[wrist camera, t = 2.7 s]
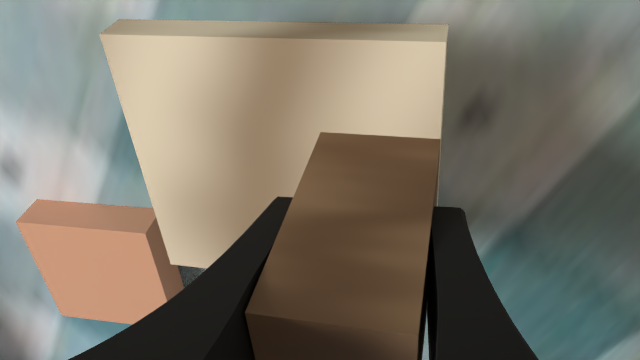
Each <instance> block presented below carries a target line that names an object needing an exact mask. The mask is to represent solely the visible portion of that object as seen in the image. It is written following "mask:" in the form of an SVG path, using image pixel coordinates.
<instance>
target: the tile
mask: <svg viewBox="0 0 640 360" xmlns="http://www.w3.org/2000/svg"><path fill="white" fill-rule="evenodd" d="M16 223H17V225H18V228H19V230H20V232H21V234H22V236H23V238H24V240H25V242H26V244H27V246H28V248H29V250H30V252H31V254H32V256H33V258H34V260H35V262H36V264H37V266H38V268H39V270H40V272H41V274H42V276H43V278H44V280H45V283H46V285H47V287H48V289H49V291H50V293H51V295H52V297H53V299H54V301H55V303H56V305H57V307H58V309H59V311H60V313H61V315H62V316H69V317H77V318H85V319H93V320H102V321H110V322H118V323H126V324H134V323H136V322H137V321H139V320H140V319H142V318H143V317H145V316H146V315H148V314H150V313H151V312H153V311H154V310H156V309H157V308H159V307H160V306H162V305H163V304H164V303H166V302H167V301H169V300H170V299H171V298H172V297H174V296H175V295H176V294H178V293H179V292H180V291H182V290H183V289H184V285H183V282H182V279H181V275H180V272H179V268H178V265H172V264H171V263H170V260H169V257H168V254H167V250H166V247H165V244H164V241H163V238H162V234H161V231H160V228H159V225H158V221H157V218H156V215H155V212H154V209H153V208H141V207H128V206H115V205H102V204H89V203H77V202H64V201H51V200H38V199H37V200H36V201H35V202H34V203H33V204H32V205H31V206H30V207H29V208H28V209H27V210H26V212H25V213H24V214H23V215H22V216H21V217H20V218H19V219H18V220H17V221H16Z"/></svg>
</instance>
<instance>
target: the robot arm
mask: <svg viewBox="0 0 640 360" xmlns="http://www.w3.org/2000/svg"><path fill="white" fill-rule="evenodd" d="M292 199H293V197H279V196H278V197H277V198H275V199H274V200H273V201H272V202H271V203H270V205H269V206H268V207H267V208H266V209H265V210H264V211H263V212H262V213H261V215H260V216H259V217H258V218H257V219H256V220H255V221H254V222H253V223H252V224H251V226H250V227H249V228H248V229H247V230H246V231H245V232H244V233H243V234H242V235H241V236H240V237H239V238H238V239H237V240H236V241H235V242H234V243H233V244H232V245H231V246H230V247H229V248H228V249H227V250H226V251H225V252H224V253H223V254H222V255H221V256H220V257H219V258H218V259H217V260H216V261H215V262H214V263H213V264H212V265H210V266H209V267H208V268H207V269H206V270H205V271H204V272H203V273H202V274H201V275H200V276H198V277H197V278H196V279H195V280H194V281H192V282H191V283H190V284H189V285H188V286H186V287H185V288H184V289H183V290H182V291H180V292H179V293H178V294H176V295H175V296H174V297H172V298H171V299H170V300H169V301H167V302H166V303H164V304H163V305H162V306H160V307H159V308H157V309H156V310H154V311H153V312H151V313H150V314H148V315H146V316H145V317H143V318H142V319H140V320H139V321H137V322H136V323H134V324H133V325H131V326H130V327H128V328H126V329H125V330H123V331H121V332H120V333H118V334H116V335H114V336H113V337H111V338H109V339H107V340H106V341H104V342H102V343H100V344H98V345H96V346H95V347H93V348H91V349H89V350H87V351H85V352H83V353H81V354H79V355H77V356H75V357H73V358H70V359H68V360H255V356H254V352H253V347H252V343H251V338H250V334H249V329H248V325H247V320H246V316H245V311H246V309H247V306H248V304H249V302H250V299H251V297H252V294H253V292H254V290H255V287H256V285H257V283H258V280H259V278H260V275H261V273H262V271H263V268H264V266H265V263H266V261H267V259H268V256H269V254H270V252H271V249H272V247H273V244H274V242H275V240H276V237H277V235H278V232H279V230H280V228H281V225H282V223H283V221H284V218H285V216H286V213H287V211H288V209H289V206H290V204H291V201H292ZM427 320H428V343H429V360H539V359H538V358H537V357H536V355H535V354H534V353H533V351H532V350H531V348H530V347H529V346H528V344H527V343H526V341H525V340H524V338H523V337H522V335H521V334H520V332H519V331H518V329H517V328H516V326H515V325H514V323H513V322H512V320H511V318H510V317H509V315H508V313H507V312H506V310H505V308H504V307H503V305H502V303H501V301H500V299H499V298H498V296H497V294H496V292H495V290H494V288H493V286H492V284H491V282H490V280H489V278H488V276H487V274H486V272H485V270H484V267H483V265H482V263H481V261H480V259H479V256H478V254H477V252H476V249H475V246H474V244H473V241H472V238H471V235H470V232H469V229H468V225H467V221H466V217H465V212H464V211H463V210H462V209H461V208H454V207H438V206H434V209H433V216H432V227H431V246H430V264H429V283H428V302H427Z"/></svg>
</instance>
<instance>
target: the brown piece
mask: <svg viewBox="0 0 640 360" xmlns="http://www.w3.org/2000/svg"><path fill="white" fill-rule="evenodd" d="M448 26H449V24H386V23H322V22H258V21H194V20H130V19H119V20H117V21H116V22H115V23H114V24H112V25H111V26H110V27H108V28H107V29H106V30H104V31H103V32H102V33H101V34H100V38H101V41H102V44H103V47H104V51H105V54H106V57H107V60H108V63H109V67H110V70H111V73H112V76H113V80H114V83H115V86H116V89H117V92H118V96H119V99H120V102H121V105H122V109H123V112H124V115H125V118H126V122H127V125H128V128H129V131H130V134H131V138H132V141H133V144H134V147H135V151H136V154H137V157H138V160H139V163H140V167H141V170H142V173H143V176H144V180H145V183H146V186H147V189H148V192H149V196H150V199H151V202H152V205H153V209H154V212H155V215H156V218H157V221H158V225H159V228H160V231H161V234H162V238H163V241H164V244H165V247H166V250H167V254H168V257H169V260H170V263H171V264H172V265H181V266H190V267H198V268H208V267H209V266H210V265H212V264H213V263H214V262H215V261H216V260H217V259H218V258H219V257H220V256H221V255H222V254H223V253H224V252H225V251H226V250H227V249H228V248H229V247H230V246H231V245H232V244H233V243H234V242H235V241H236V240H237V239H238V238H239V237H240V236H241V235H242V234H243V233H244V232H245V231H246V230H247V229H248V228H249V227H250V226H251V224H252V223H253V222H254V221H255V220H256V219H257V218H258V217H259V216H260V215H261V213H262V212H263V211H264V210H265V209H266V208H267V207H268V206H269V205H270V203H271V202H272V201H273V200H274V199H275V198H277V197H278V196H279V197H293V199H292V201H291V204H290V206H289V209H288V211H287V213H286V216H285V218H284V221H283V223H282V225H281V228H280V230H279V232H278V235H277V237H276V240H275V242H274V244H273V247H272V249H271V252H270V254H269V256H268V259H267V261H266V263H265V266H264V268H263V271H262V273H261V275H260V278H259V280H258V283H257V285H256V287H255V290H254V292H253V294H252V297H251V299H250V302H249V304H248V306H247V309H246V311H245V316H246V320H247V325H248V329H249V334H250V338H251V343H252V347H253V352H254V356H255V360H422V353H423V344H424V334H425V324H426V315H427V302H428V283H429V264H430V246H431V227H432V216H433V209H434V206H438V191H439V175H440V158H441V142H442V125H443V109H444V92H445V76H446V59H447V43H448Z"/></svg>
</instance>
